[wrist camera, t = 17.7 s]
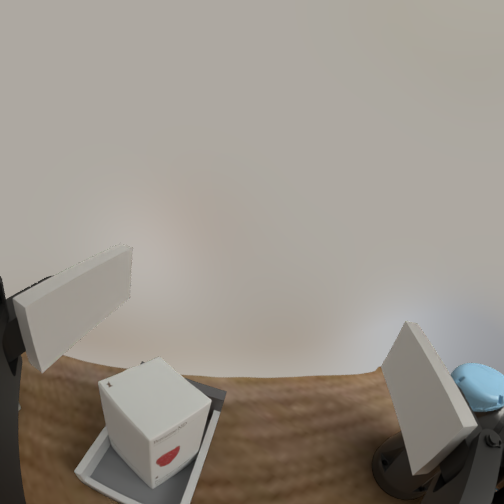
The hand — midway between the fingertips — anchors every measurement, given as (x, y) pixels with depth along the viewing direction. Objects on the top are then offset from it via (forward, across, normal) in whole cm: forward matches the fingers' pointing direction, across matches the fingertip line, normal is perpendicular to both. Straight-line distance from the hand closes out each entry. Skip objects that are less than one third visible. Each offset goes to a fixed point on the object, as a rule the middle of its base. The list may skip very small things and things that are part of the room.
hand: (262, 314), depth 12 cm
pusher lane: (+8, -8, -32) cm, 34 cm away
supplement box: (+7, -8, -32) cm, 33 cm away
